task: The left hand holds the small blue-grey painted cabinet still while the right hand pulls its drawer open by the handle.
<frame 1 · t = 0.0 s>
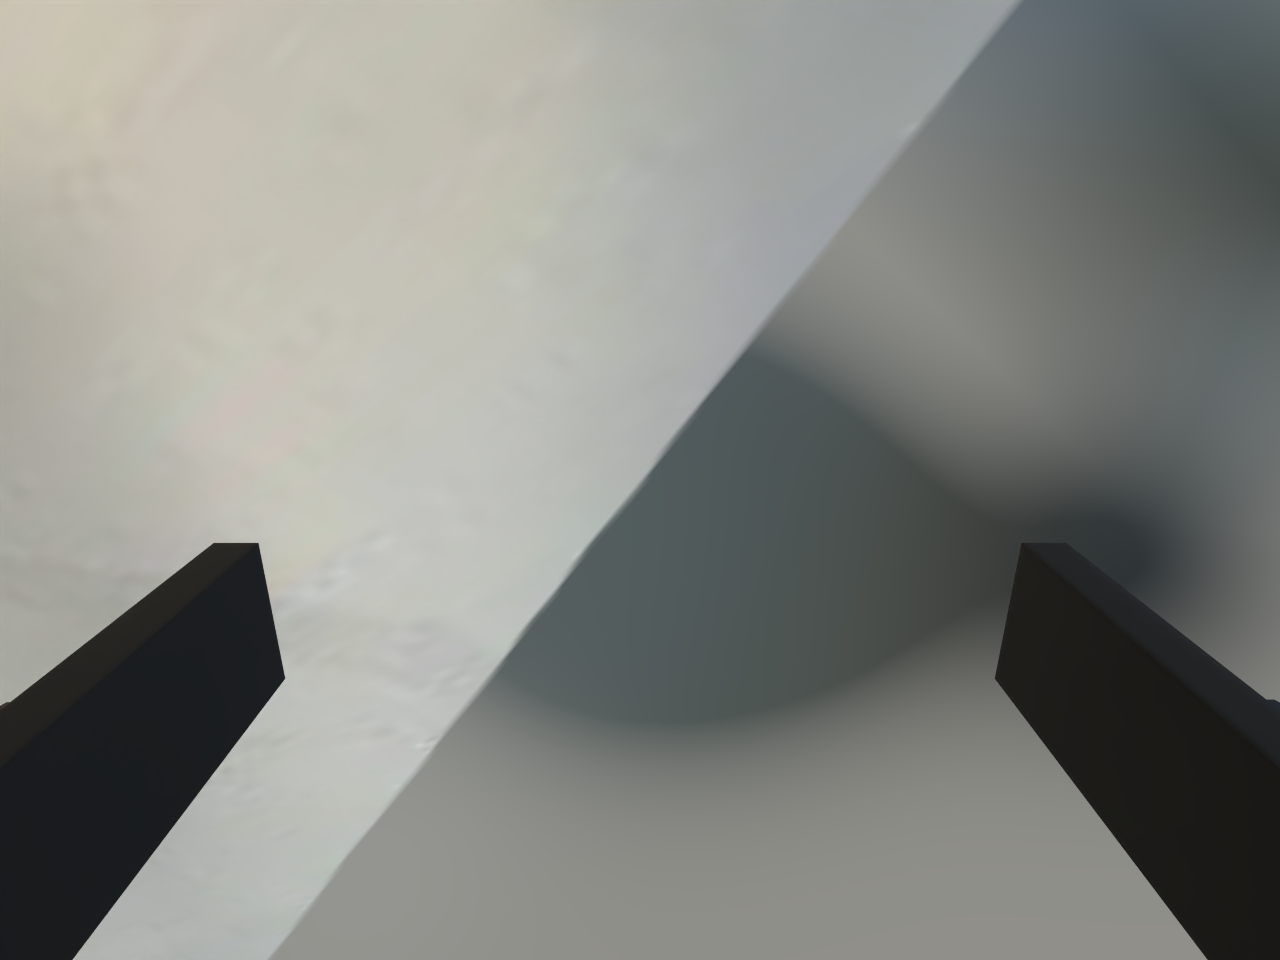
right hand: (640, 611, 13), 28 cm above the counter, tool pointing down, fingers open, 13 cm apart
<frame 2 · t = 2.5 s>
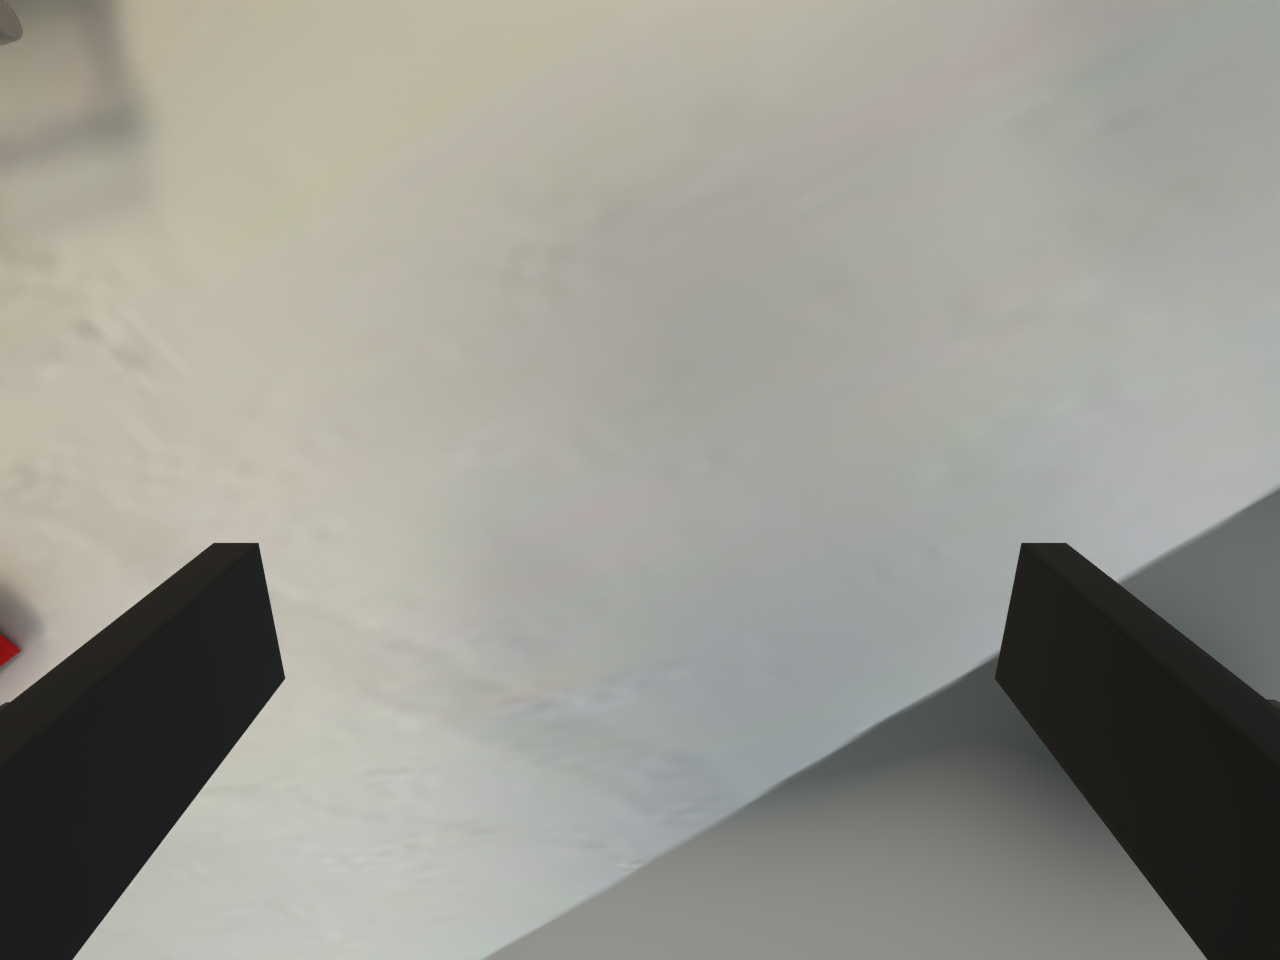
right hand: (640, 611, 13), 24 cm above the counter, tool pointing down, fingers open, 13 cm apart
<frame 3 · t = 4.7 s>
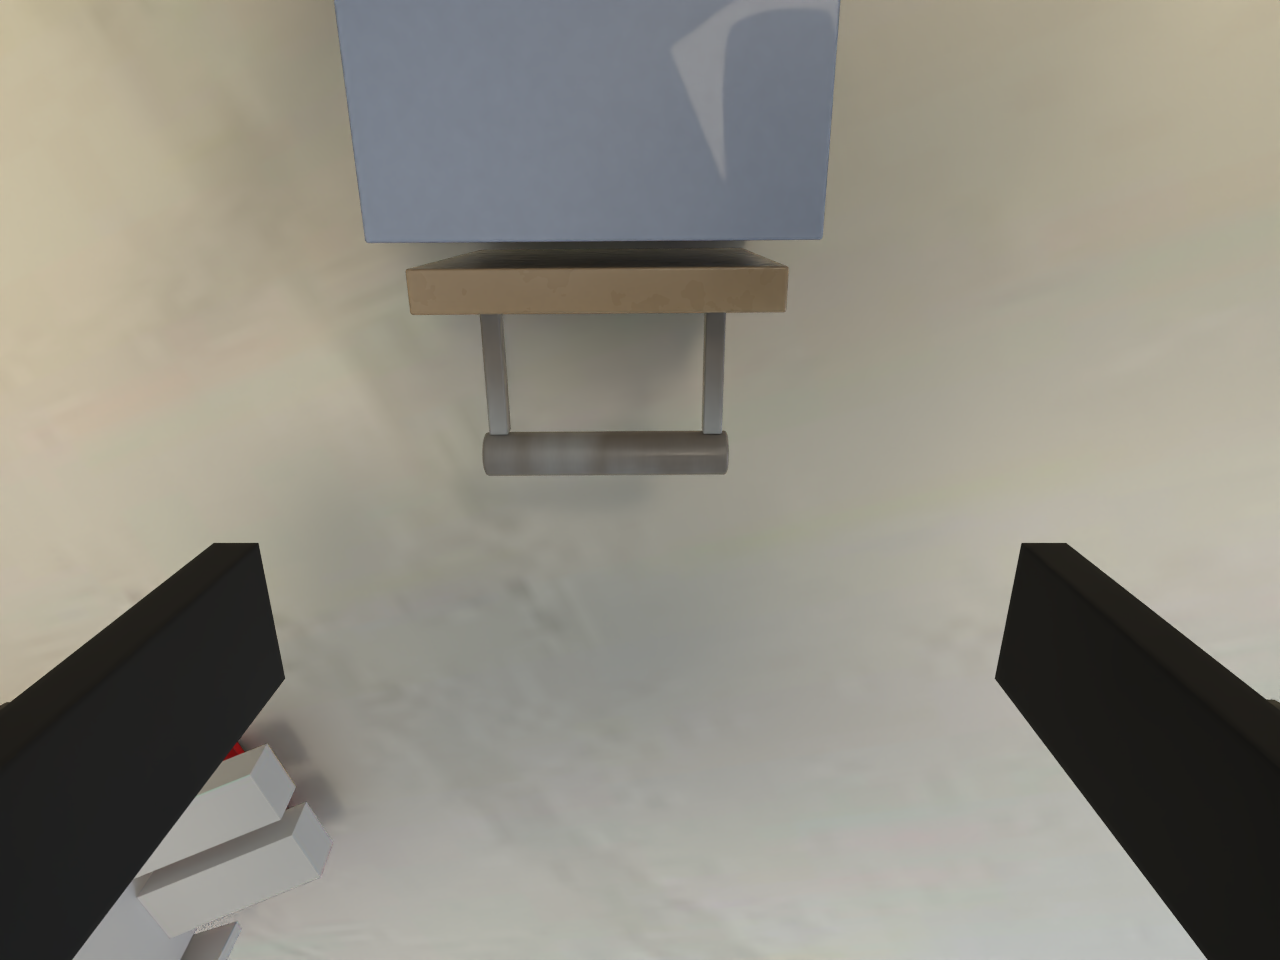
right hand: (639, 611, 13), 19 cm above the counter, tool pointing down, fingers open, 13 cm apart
drawer: (601, 75, 22), point 6 cm above the counter, slide at 0.7 cm
toy: (81, 825, 40), on the counter
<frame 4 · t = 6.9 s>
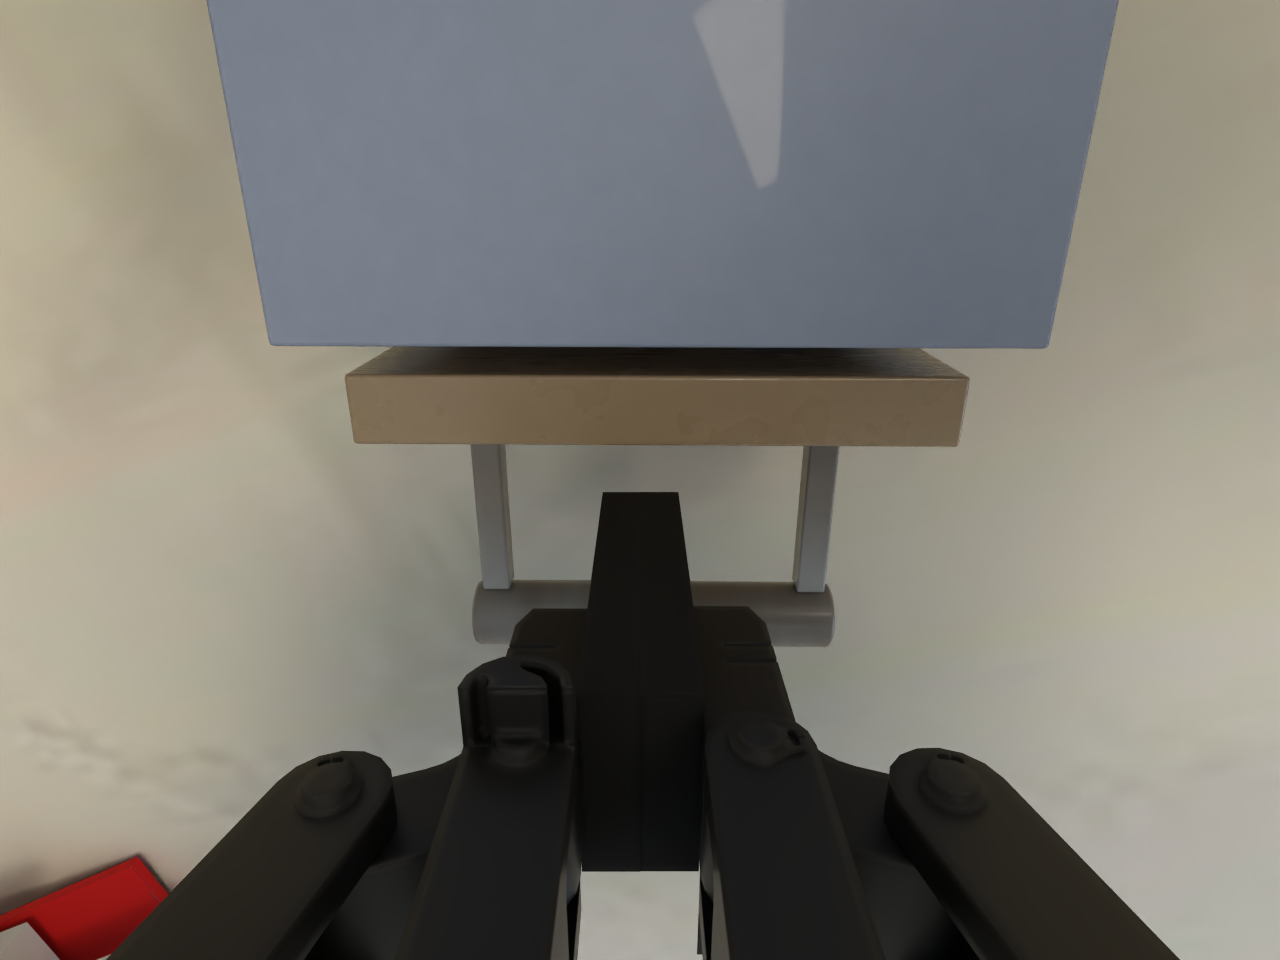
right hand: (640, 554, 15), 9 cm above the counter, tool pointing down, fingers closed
drawer: (656, 58, 14), point 6 cm above the counter, slide at 0.7 cm, touching right hand
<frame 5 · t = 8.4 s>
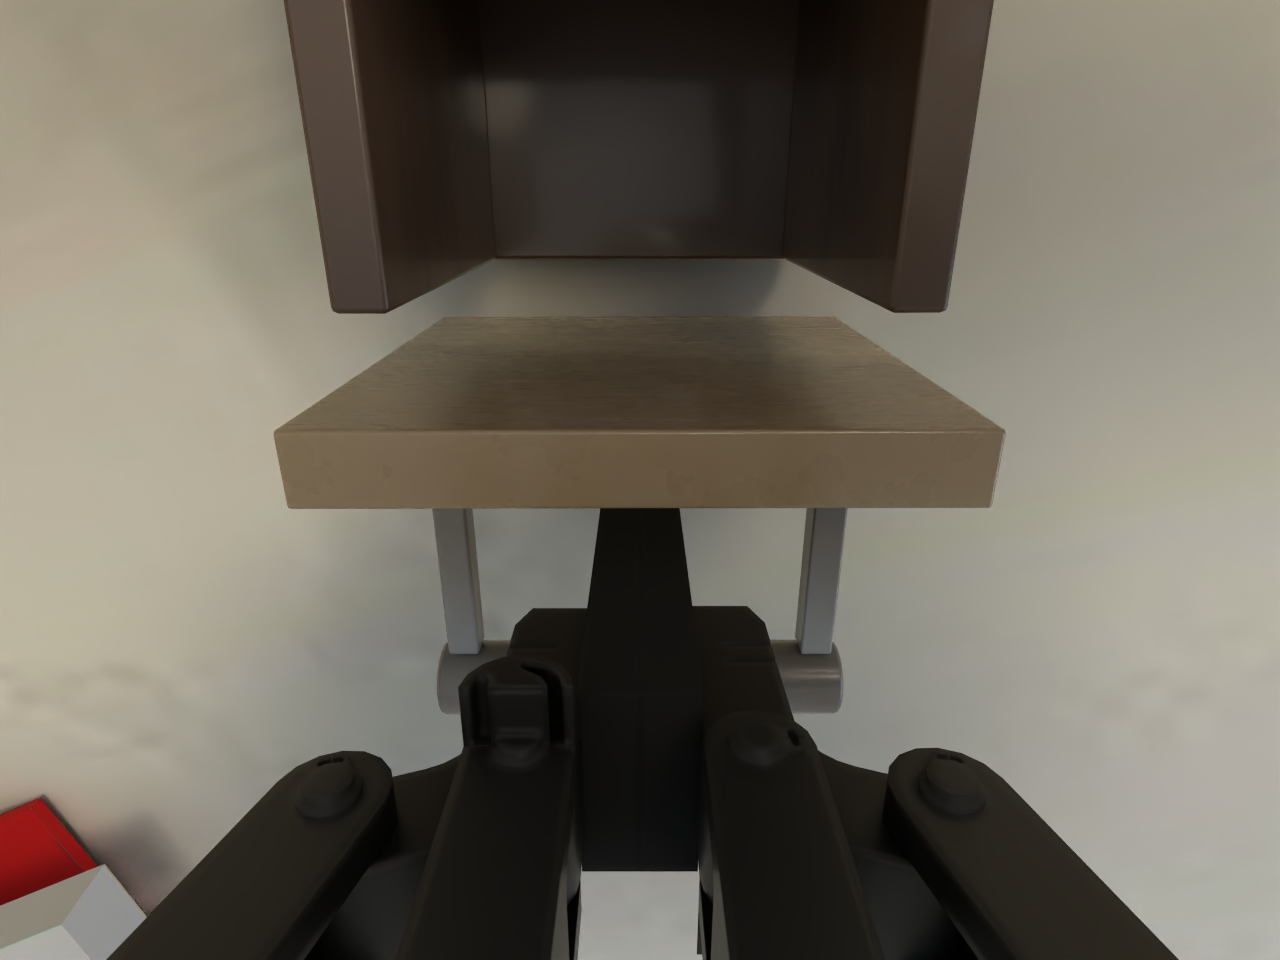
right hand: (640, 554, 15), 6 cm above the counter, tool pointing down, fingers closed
drawer: (639, 55, 13), point 6 cm above the counter, slide at 6.3 cm, touching right hand
when the left hand's fingers open (7 cm above the counter, at t = 10.1 s): cabinet stays where it is, on the counter.
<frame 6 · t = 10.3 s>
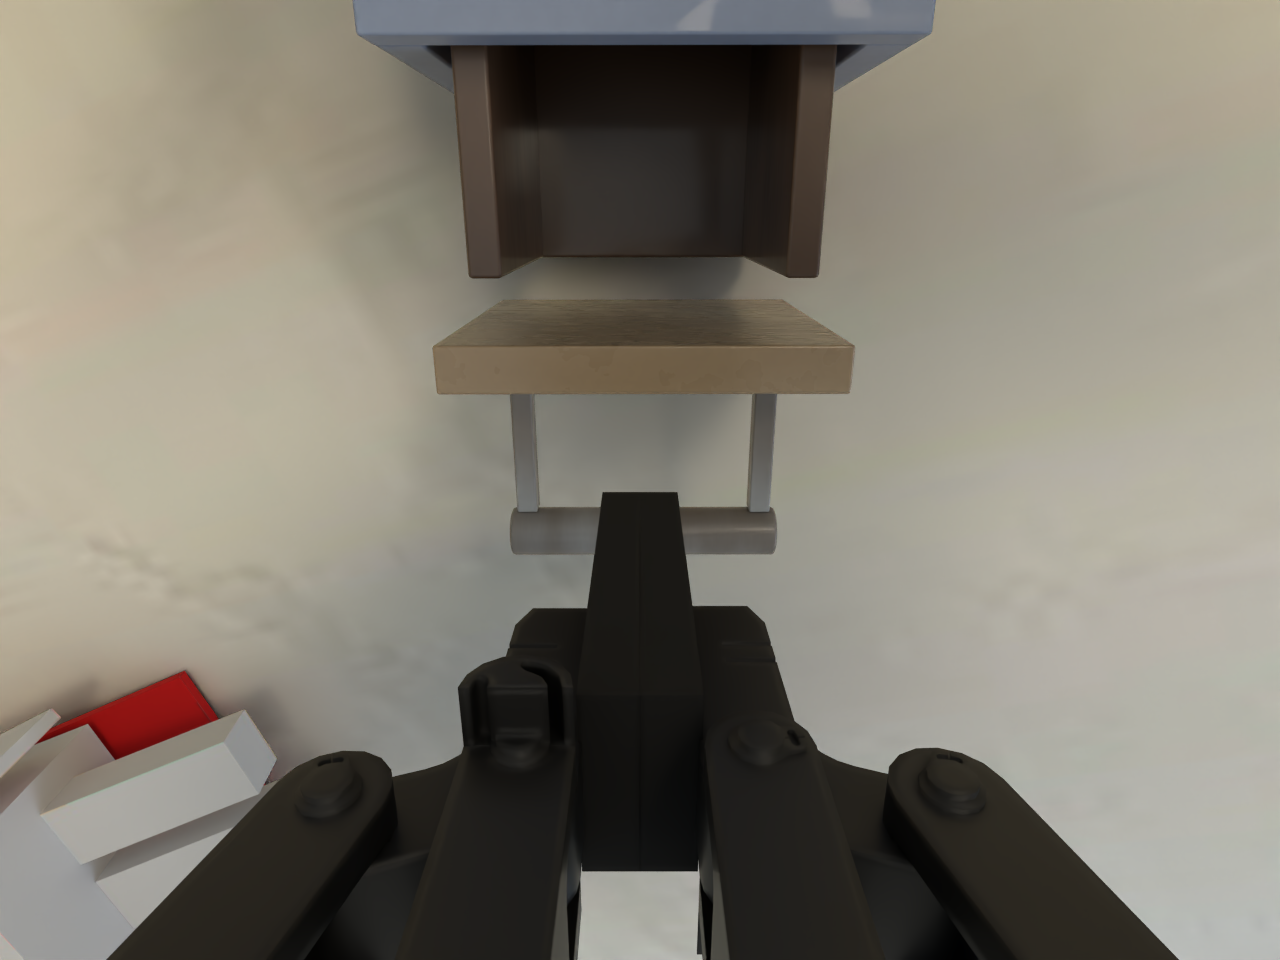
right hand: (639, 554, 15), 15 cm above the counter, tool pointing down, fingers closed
drawer: (643, 126, 20), point 6 cm above the counter, slide at 6.3 cm
toy: (40, 804, 36), on the counter
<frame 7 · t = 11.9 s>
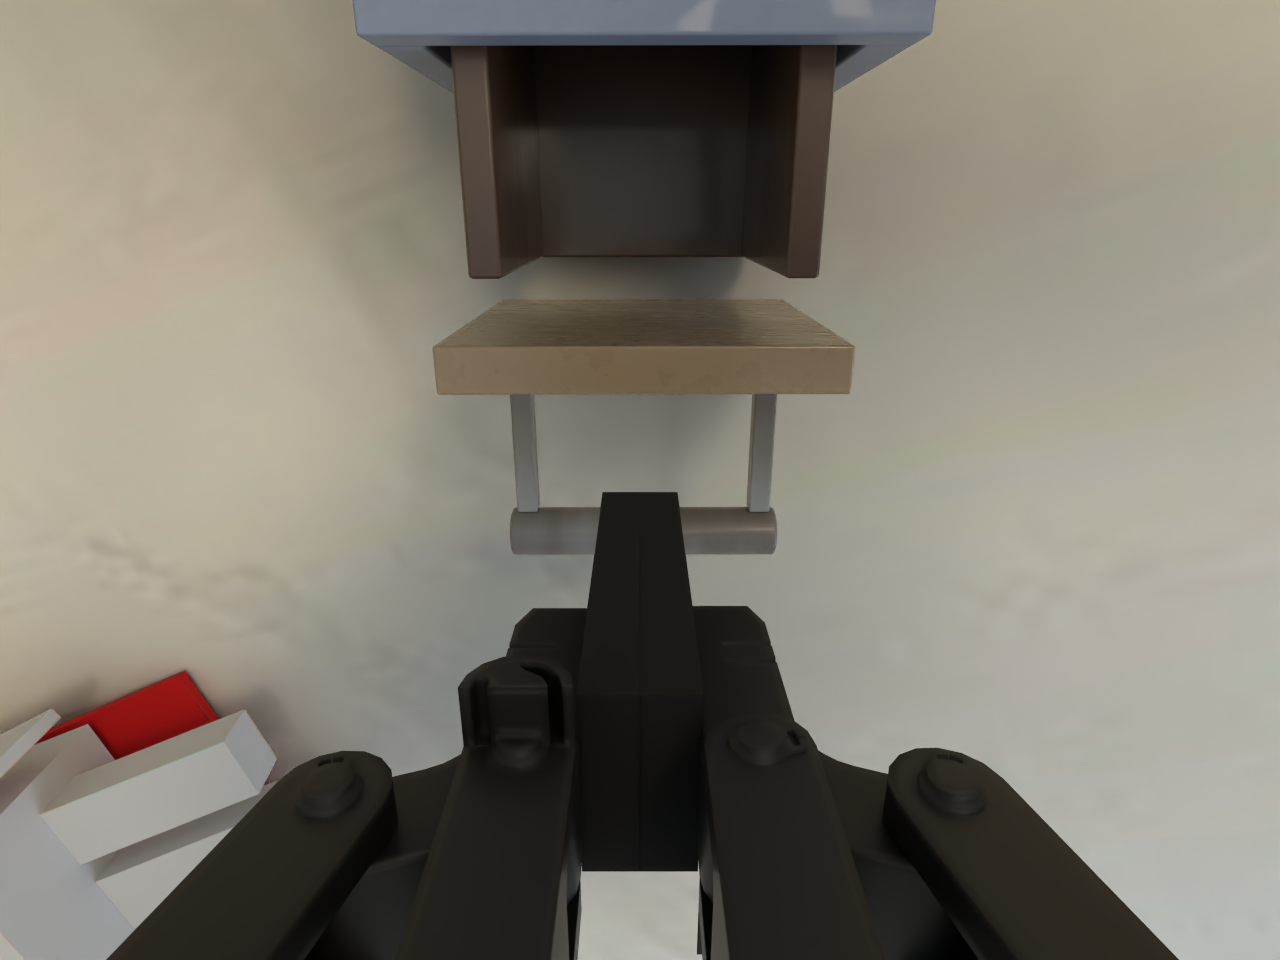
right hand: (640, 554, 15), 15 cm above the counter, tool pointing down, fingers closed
drawer: (643, 126, 20), point 6 cm above the counter, slide at 6.3 cm
toy: (40, 804, 36), on the counter
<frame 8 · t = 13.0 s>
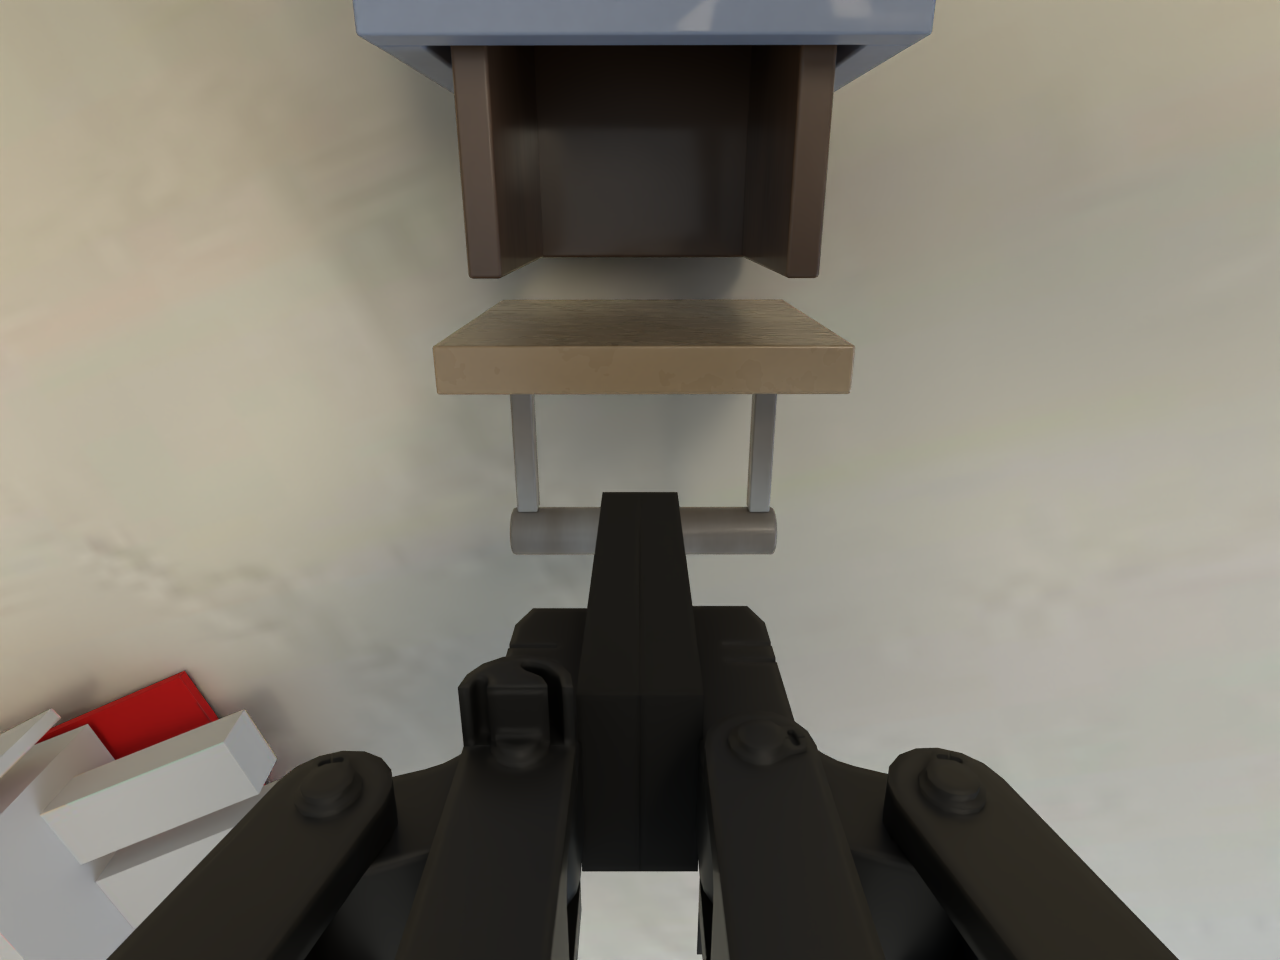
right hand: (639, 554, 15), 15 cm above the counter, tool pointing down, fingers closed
drawer: (643, 126, 20), point 6 cm above the counter, slide at 6.3 cm
toy: (40, 804, 36), on the counter
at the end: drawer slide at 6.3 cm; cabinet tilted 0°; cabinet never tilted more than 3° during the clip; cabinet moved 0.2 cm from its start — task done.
